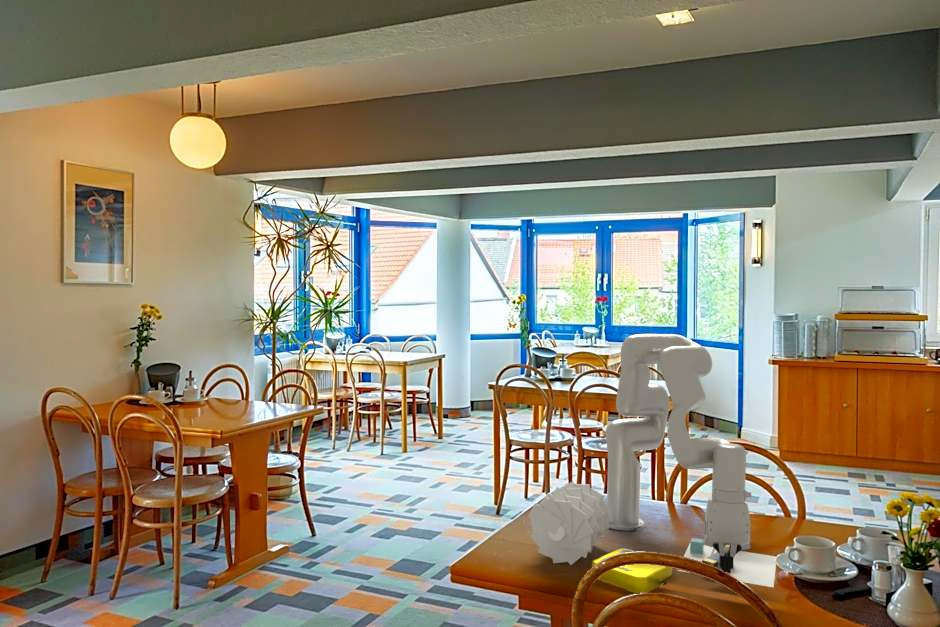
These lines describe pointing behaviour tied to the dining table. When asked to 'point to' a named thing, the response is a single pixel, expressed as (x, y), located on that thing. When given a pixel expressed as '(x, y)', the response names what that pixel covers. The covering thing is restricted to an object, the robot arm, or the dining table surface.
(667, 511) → the dining table surface
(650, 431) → the robot arm
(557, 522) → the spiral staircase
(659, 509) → the dining table surface
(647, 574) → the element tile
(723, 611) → the dining table surface
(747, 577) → the latch board
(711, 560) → the bar
